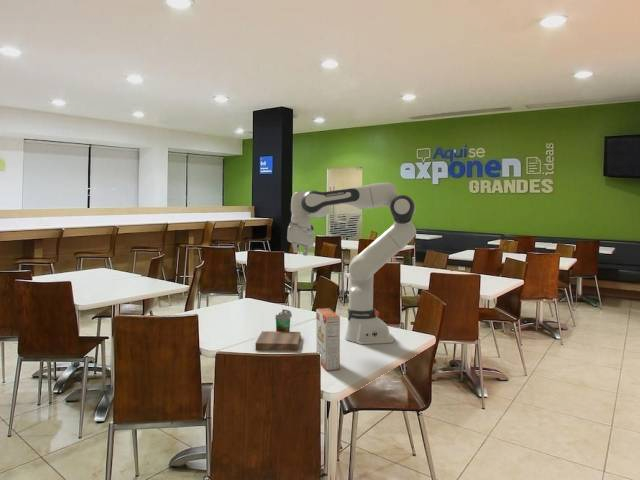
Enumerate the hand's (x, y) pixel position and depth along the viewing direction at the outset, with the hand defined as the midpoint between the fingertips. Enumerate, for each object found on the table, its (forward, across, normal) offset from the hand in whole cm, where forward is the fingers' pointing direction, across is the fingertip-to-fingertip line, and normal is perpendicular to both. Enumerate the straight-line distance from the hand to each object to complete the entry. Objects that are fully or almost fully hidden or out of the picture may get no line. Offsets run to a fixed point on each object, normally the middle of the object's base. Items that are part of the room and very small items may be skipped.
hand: (300, 254), depth 216 cm
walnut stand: (+41, -5, +9) cm, 42 cm away
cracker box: (+48, -18, -21) cm, 56 cm away
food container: (+36, +11, +15) cm, 40 cm away
